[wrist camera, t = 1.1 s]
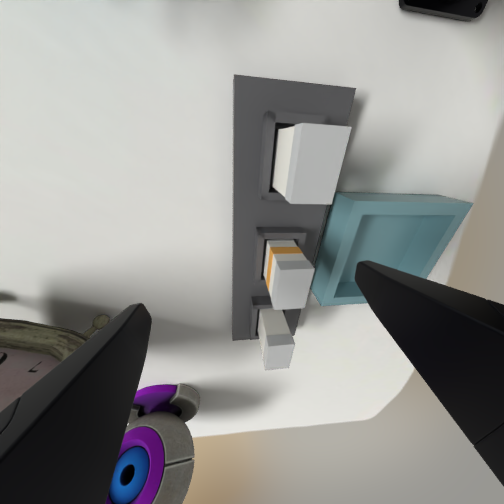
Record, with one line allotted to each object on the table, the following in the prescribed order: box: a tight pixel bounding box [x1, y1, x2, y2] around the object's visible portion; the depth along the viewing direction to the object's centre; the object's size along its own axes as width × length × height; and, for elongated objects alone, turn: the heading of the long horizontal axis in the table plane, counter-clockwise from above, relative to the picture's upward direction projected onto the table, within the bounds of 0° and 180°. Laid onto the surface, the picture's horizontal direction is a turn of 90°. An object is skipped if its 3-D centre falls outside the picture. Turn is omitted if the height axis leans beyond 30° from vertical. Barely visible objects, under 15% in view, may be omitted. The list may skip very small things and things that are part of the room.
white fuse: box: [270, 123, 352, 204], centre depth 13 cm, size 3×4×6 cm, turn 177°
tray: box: [310, 192, 473, 306], centre depth 22 cm, size 12×12×4 cm
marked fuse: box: [262, 239, 315, 310], centre depth 18 cm, size 3×4×6 cm, turn 177°
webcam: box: [105, 384, 200, 504], centre depth 29 cm, size 13×13×15 cm
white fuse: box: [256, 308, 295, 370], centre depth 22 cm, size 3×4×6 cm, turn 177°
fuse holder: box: [232, 75, 356, 341], centre depth 20 cm, size 9×28×3 cm, turn 177°
